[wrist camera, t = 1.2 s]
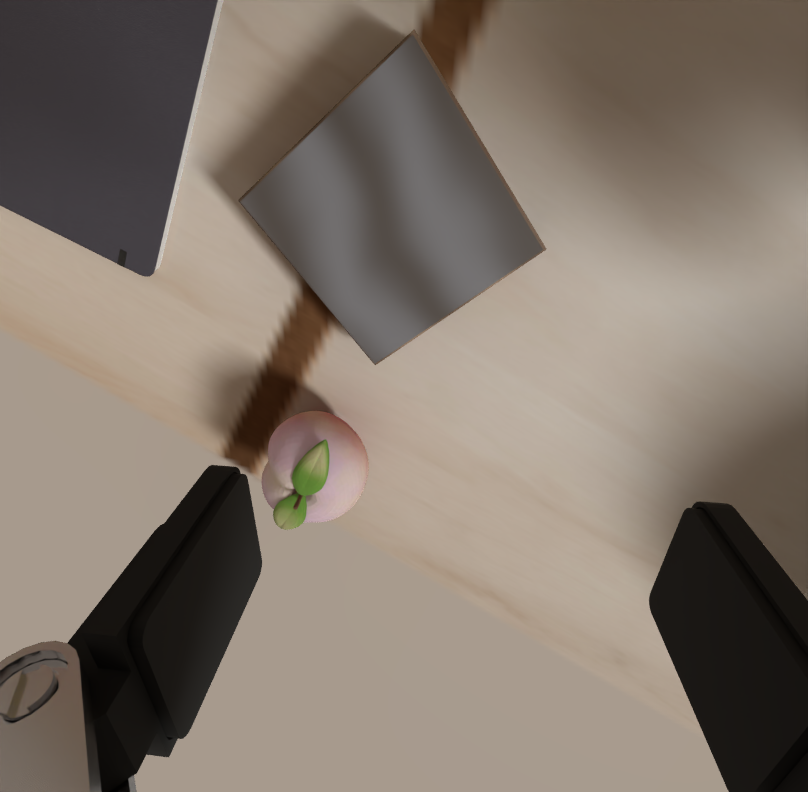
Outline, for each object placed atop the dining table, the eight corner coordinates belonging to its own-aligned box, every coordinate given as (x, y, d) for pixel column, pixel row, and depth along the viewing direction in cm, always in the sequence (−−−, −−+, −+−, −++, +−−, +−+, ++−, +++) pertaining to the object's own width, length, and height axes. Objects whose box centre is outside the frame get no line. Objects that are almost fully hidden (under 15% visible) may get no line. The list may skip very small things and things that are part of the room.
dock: (418, 43, 27) (413, 27, 24) (537, 239, 32) (547, 250, 29) (259, 195, 32) (235, 201, 29) (381, 346, 37) (374, 367, 33)
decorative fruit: (361, 485, 44) (339, 569, 35) (279, 459, 43) (235, 538, 35) (389, 405, 39) (372, 478, 31) (298, 375, 39) (253, 441, 30)
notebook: (22, -182, 25) (1, 195, 35) (-3, -202, 24) (-18, 197, 33) (241, -47, 27) (162, 276, 36) (229, -58, 25) (151, 281, 35)
